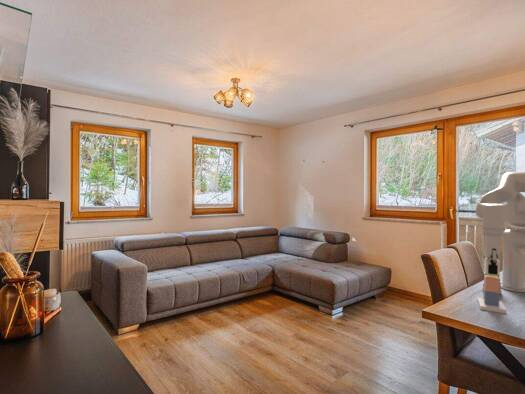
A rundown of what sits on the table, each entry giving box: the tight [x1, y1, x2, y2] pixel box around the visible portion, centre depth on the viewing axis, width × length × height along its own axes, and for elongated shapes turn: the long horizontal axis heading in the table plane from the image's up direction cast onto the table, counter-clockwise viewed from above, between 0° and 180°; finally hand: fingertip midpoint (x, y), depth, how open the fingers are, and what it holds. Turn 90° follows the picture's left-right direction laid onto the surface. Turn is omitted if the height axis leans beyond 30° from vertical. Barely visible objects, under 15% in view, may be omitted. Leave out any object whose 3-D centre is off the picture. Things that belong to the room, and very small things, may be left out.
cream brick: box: [483, 257, 501, 276], centre depth 137 cm, size 5×5×6 cm
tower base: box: [476, 289, 507, 314], centre depth 138 cm, size 12×9×8 cm
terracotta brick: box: [483, 274, 501, 293], centre depth 138 cm, size 5×5×6 cm
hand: (491, 272), depth 138 cm, fingers closed on cream brick, 5 cm apart
